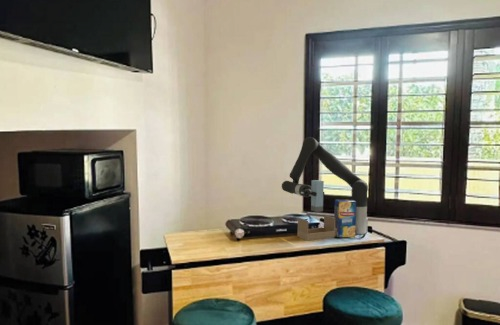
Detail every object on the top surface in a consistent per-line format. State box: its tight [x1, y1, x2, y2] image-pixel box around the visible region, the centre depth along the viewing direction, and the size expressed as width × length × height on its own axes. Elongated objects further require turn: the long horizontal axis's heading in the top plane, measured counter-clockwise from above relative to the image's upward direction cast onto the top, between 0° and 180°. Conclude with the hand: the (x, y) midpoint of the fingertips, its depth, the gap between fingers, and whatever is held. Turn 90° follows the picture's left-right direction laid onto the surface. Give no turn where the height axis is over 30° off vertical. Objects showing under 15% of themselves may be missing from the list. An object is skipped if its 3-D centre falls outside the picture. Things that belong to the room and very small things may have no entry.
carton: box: [296, 215, 336, 242], centre depth 225 cm, size 20×10×12 cm, turn 116°
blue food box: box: [333, 199, 356, 238], centre depth 229 cm, size 7×11×22 cm, turn 100°
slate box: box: [310, 179, 325, 213], centre depth 224 cm, size 5×5×18 cm
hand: (320, 194), depth 221 cm, fingers closed on slate box, 5 cm apart
